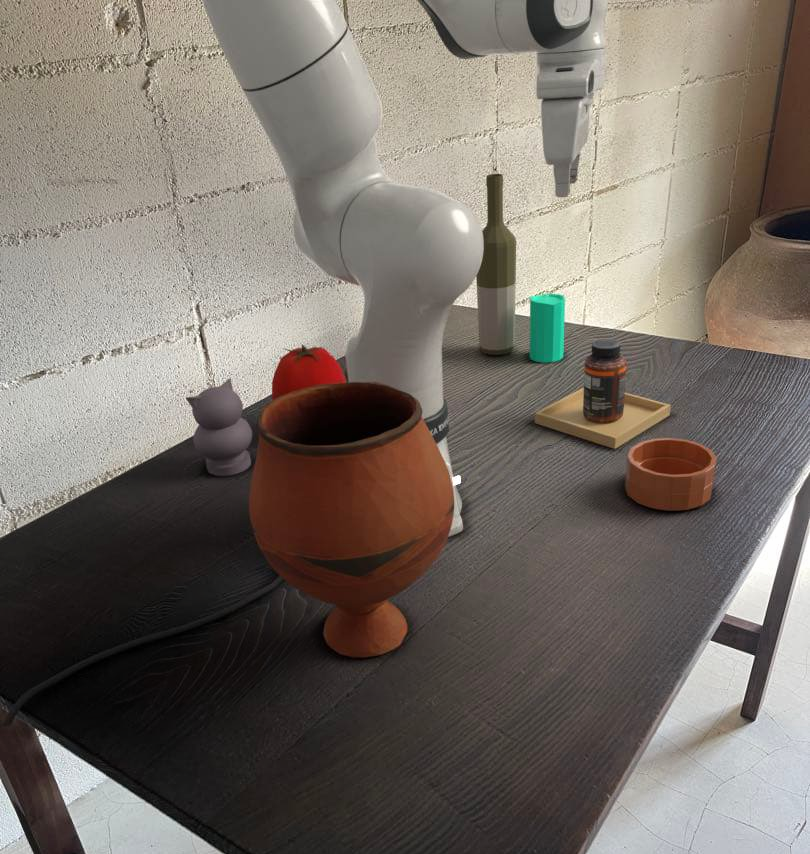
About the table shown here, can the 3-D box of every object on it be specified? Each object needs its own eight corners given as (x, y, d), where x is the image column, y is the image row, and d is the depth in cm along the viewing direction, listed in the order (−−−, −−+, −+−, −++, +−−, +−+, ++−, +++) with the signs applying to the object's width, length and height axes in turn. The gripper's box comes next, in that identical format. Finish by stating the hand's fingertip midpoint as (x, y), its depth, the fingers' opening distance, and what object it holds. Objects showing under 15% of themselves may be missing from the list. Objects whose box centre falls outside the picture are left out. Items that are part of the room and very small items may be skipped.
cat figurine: (222, 485, 115) (205, 405, 109) (188, 470, 120) (170, 393, 113) (269, 461, 120) (254, 383, 114) (234, 448, 125) (219, 372, 118)
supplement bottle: (620, 407, 126) (625, 335, 120) (625, 423, 121) (631, 349, 115) (580, 408, 126) (583, 336, 120) (584, 425, 122) (587, 351, 115)
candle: (526, 361, 146) (527, 294, 139) (532, 350, 151) (533, 283, 144) (560, 363, 144) (562, 294, 138) (565, 351, 149) (567, 284, 142)
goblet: (466, 690, 77) (455, 450, 64) (262, 702, 78) (208, 467, 64) (454, 572, 93) (444, 361, 80) (285, 583, 94) (247, 375, 80)
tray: (614, 449, 115) (615, 438, 115) (534, 423, 124) (534, 412, 124) (669, 415, 123) (671, 404, 122) (590, 393, 132) (591, 383, 131)
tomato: (367, 419, 130) (359, 338, 123) (319, 451, 122) (307, 366, 115) (311, 407, 136) (299, 328, 129) (260, 437, 128) (245, 355, 120)
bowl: (682, 521, 98) (687, 485, 96) (609, 494, 105) (611, 459, 102) (726, 488, 104) (732, 453, 101) (654, 464, 111) (657, 430, 108)
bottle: (522, 347, 152) (523, 171, 136) (505, 360, 147) (504, 179, 131) (488, 342, 156) (485, 170, 139) (471, 355, 151) (465, 178, 135)
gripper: (556, 71, 117) (553, 176, 124) (533, 85, 101) (533, 205, 108) (601, 68, 115) (596, 174, 123) (586, 81, 99) (582, 203, 106)
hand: (566, 189), depth 115 cm, fingers open, 8 cm apart
